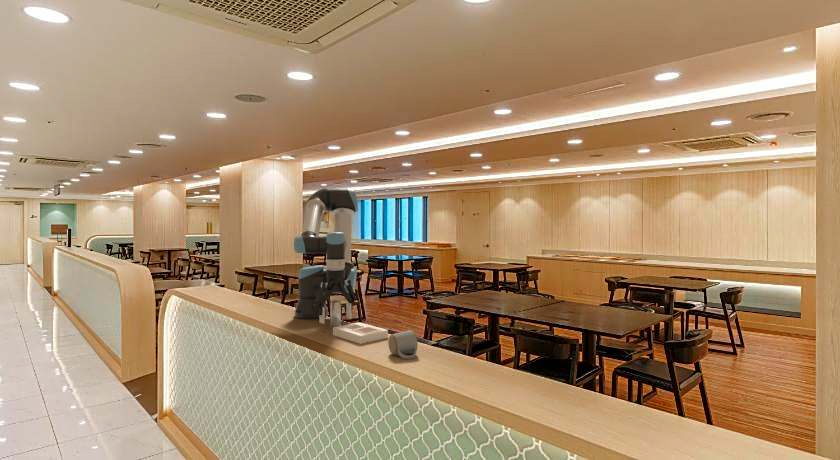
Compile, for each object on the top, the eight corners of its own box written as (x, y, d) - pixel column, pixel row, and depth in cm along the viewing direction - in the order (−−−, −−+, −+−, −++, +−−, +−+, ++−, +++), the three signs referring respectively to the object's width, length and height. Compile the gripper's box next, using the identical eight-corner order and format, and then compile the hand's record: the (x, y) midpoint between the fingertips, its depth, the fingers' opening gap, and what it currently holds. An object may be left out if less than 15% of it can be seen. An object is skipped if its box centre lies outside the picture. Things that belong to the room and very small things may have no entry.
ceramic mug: (386, 352, 158) (387, 330, 157) (408, 349, 161) (408, 327, 161) (399, 361, 148) (400, 338, 148) (422, 358, 152) (422, 335, 151)
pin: (331, 326, 194) (331, 300, 194) (341, 326, 194) (341, 301, 194) (329, 329, 190) (329, 302, 190) (340, 329, 190) (339, 302, 190)
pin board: (332, 335, 181) (332, 326, 181) (359, 329, 190) (359, 321, 190) (360, 344, 168) (360, 335, 168) (387, 337, 177) (388, 329, 177)
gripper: (314, 272, 180) (314, 326, 181) (364, 267, 197) (364, 317, 198) (304, 270, 185) (304, 323, 186) (354, 266, 203) (354, 315, 203)
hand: (335, 320), depth 192 cm, fingers open, 12 cm apart
